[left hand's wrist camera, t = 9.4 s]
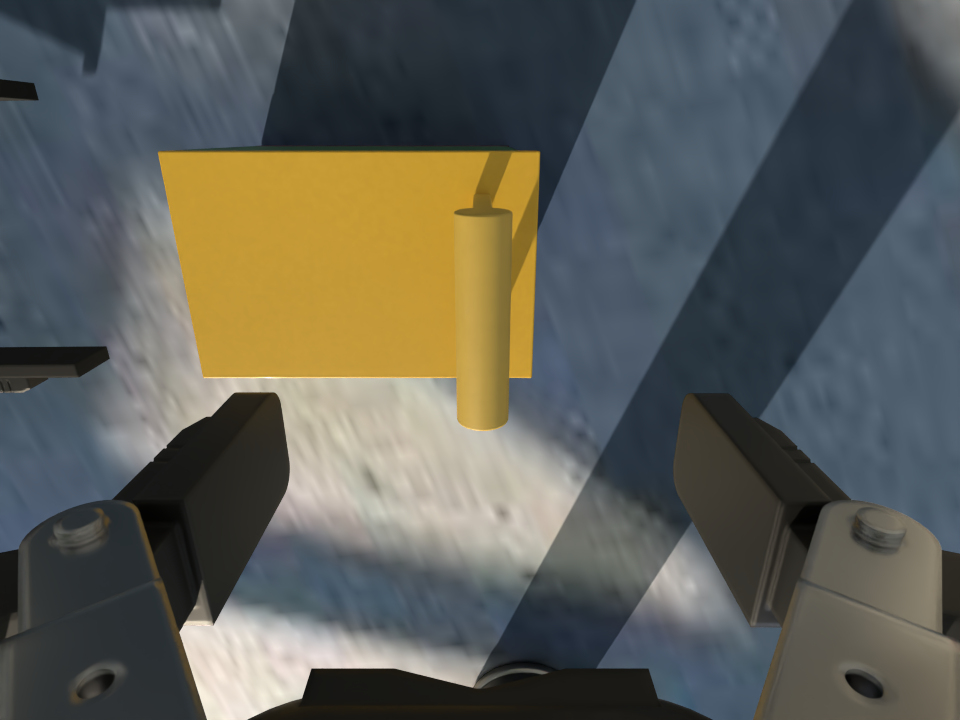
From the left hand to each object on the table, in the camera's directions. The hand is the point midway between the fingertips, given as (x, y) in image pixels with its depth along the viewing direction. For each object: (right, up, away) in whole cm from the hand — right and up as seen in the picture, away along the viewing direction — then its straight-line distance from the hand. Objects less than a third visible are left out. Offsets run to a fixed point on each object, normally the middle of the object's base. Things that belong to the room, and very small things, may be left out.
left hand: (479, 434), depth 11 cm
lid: (-5, +6, +14) cm, 16 cm away
